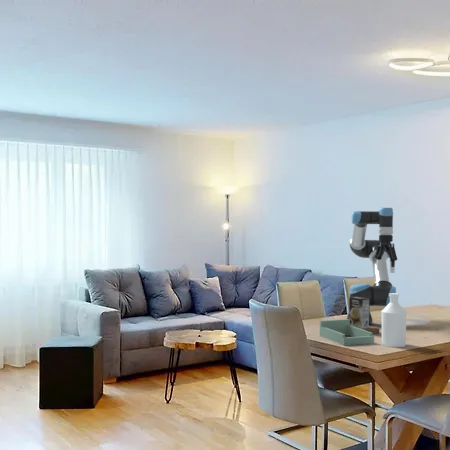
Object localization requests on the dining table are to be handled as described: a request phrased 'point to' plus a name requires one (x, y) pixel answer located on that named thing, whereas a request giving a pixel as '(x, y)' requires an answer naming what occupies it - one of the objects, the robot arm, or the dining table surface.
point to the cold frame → (344, 332)
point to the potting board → (371, 329)
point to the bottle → (393, 323)
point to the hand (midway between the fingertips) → (385, 271)
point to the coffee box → (359, 312)
